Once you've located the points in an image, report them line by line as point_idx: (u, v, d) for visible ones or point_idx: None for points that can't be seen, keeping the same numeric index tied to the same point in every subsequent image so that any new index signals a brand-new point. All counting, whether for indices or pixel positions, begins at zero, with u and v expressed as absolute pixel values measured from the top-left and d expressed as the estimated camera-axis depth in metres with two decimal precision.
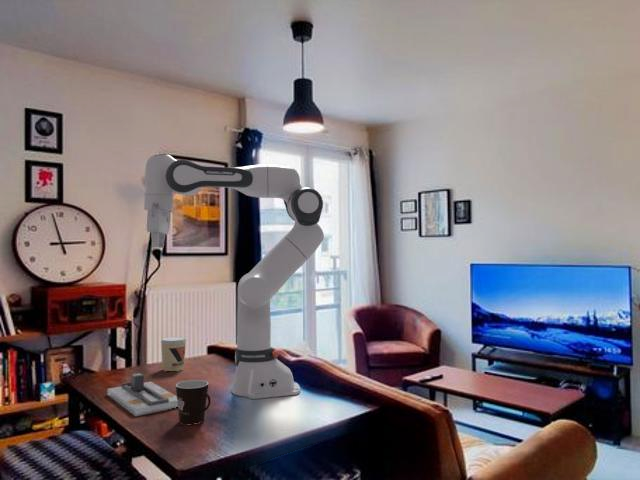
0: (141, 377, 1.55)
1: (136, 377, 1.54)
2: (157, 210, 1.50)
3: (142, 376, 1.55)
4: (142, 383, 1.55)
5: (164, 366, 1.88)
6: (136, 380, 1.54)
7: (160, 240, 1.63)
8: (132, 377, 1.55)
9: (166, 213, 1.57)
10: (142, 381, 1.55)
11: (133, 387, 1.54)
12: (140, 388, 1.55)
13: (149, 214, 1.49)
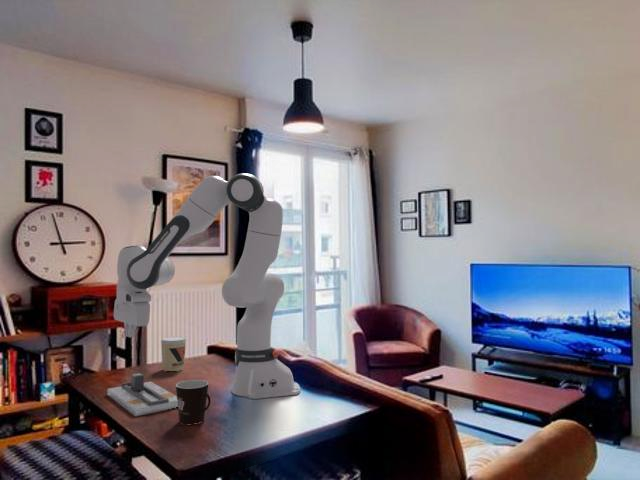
0: (141, 377, 1.55)
1: (136, 377, 1.54)
2: None
3: (142, 376, 1.55)
4: (142, 383, 1.55)
5: (164, 366, 1.88)
6: (136, 380, 1.54)
7: None
8: (132, 377, 1.55)
9: None
10: (142, 381, 1.55)
11: (133, 387, 1.54)
12: (140, 388, 1.55)
13: None
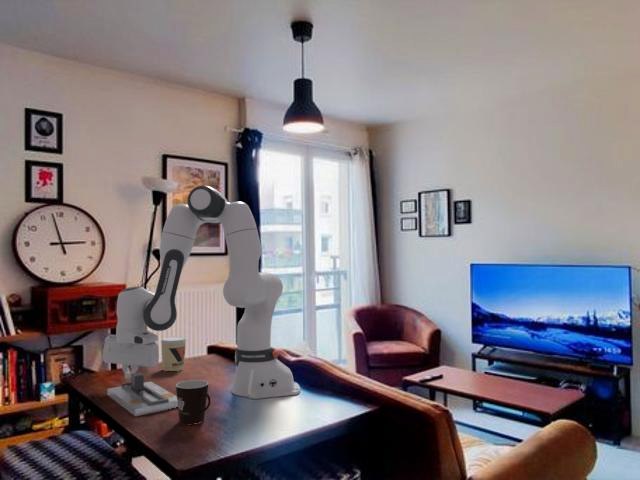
0: (141, 377, 1.55)
1: (136, 377, 1.54)
2: None
3: (142, 376, 1.55)
4: (142, 383, 1.55)
5: (164, 366, 1.88)
6: (136, 380, 1.54)
7: None
8: (132, 377, 1.55)
9: (120, 345, 1.60)
10: (142, 381, 1.55)
11: (133, 387, 1.54)
12: (140, 388, 1.55)
13: None
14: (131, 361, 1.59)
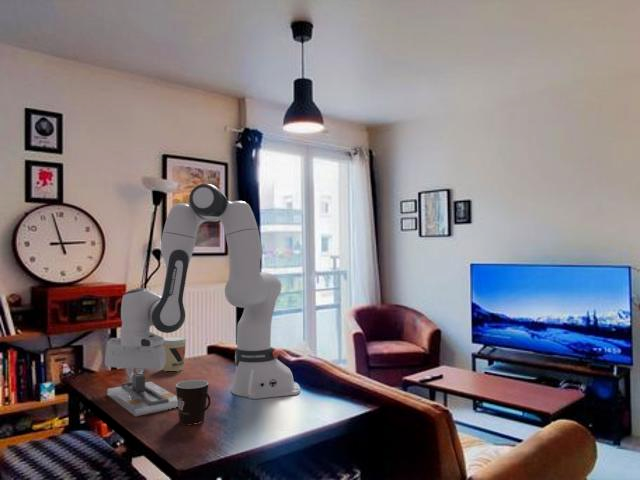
0: (142, 378, 1.54)
1: (137, 378, 1.53)
2: None
3: (143, 377, 1.54)
4: (143, 384, 1.54)
5: (164, 366, 1.88)
6: (137, 381, 1.53)
7: None
8: (134, 378, 1.54)
9: (125, 349, 1.56)
10: (143, 382, 1.54)
11: (134, 388, 1.53)
12: (141, 389, 1.54)
13: None
14: (137, 364, 1.56)
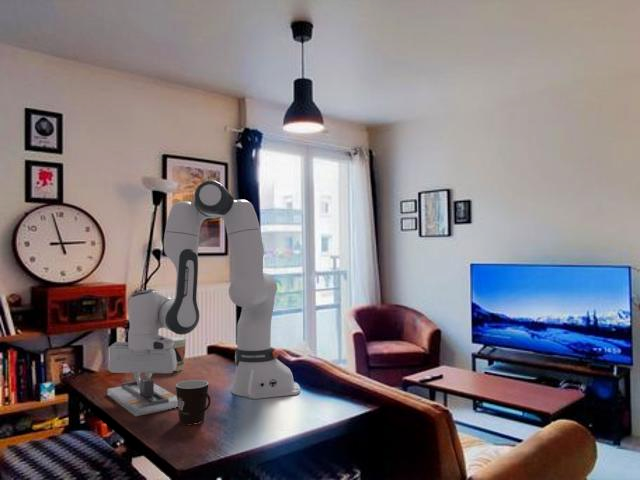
0: (151, 383, 1.48)
1: (146, 383, 1.47)
2: (112, 350, 1.51)
3: (152, 382, 1.49)
4: (152, 389, 1.48)
5: None
6: (145, 386, 1.47)
7: None
8: (142, 382, 1.48)
9: (134, 353, 1.50)
10: (152, 387, 1.48)
11: (142, 393, 1.48)
12: (150, 394, 1.48)
13: None
14: (147, 368, 1.50)
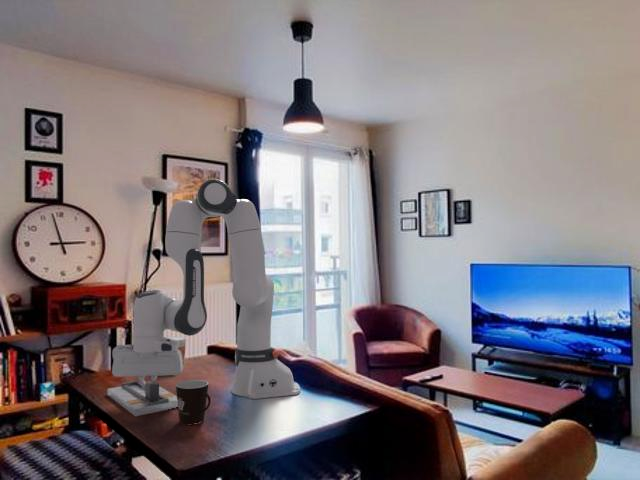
0: (156, 386, 1.45)
1: (151, 386, 1.44)
2: (116, 354, 1.47)
3: (157, 385, 1.45)
4: (157, 393, 1.45)
5: None
6: (151, 389, 1.44)
7: None
8: (147, 386, 1.45)
9: (141, 355, 1.46)
10: (157, 390, 1.45)
11: (148, 396, 1.44)
12: (155, 398, 1.45)
13: None
14: (153, 371, 1.47)
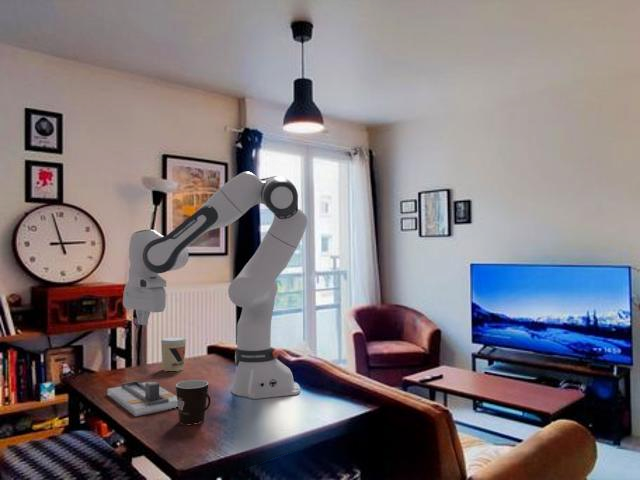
0: (156, 386, 1.45)
1: (151, 386, 1.44)
2: None
3: (157, 385, 1.45)
4: (157, 393, 1.45)
5: (164, 366, 1.88)
6: (151, 389, 1.44)
7: None
8: (147, 386, 1.45)
9: (132, 290, 1.55)
10: (157, 390, 1.45)
11: (148, 397, 1.44)
12: (155, 398, 1.45)
13: None
14: (141, 306, 1.53)
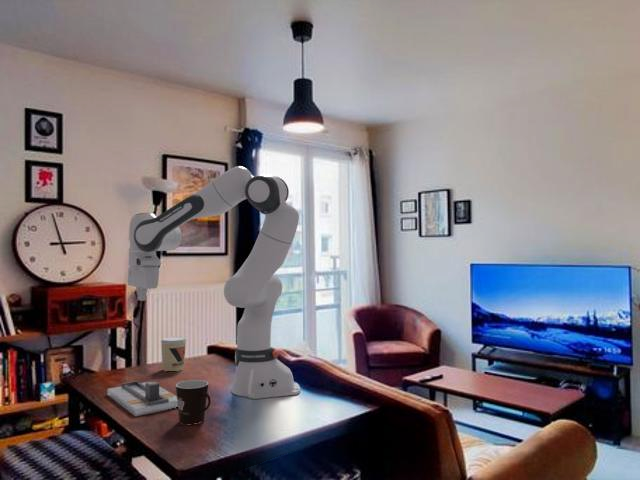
0: (156, 386, 1.45)
1: (151, 386, 1.44)
2: None
3: (157, 385, 1.45)
4: (157, 393, 1.45)
5: (164, 366, 1.88)
6: (151, 389, 1.44)
7: None
8: (147, 386, 1.45)
9: None
10: (157, 390, 1.45)
11: (148, 397, 1.44)
12: (155, 398, 1.45)
13: None
14: (138, 283, 1.66)
